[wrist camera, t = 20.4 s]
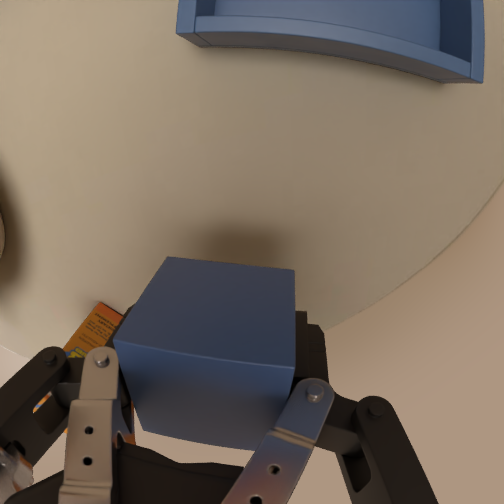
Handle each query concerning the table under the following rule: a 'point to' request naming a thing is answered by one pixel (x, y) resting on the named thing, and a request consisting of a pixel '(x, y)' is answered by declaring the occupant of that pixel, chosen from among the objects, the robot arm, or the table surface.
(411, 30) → the blue bin
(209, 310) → the blue block
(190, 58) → the table surface
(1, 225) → the sugar bowl
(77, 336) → the supplement box
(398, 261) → the table surface
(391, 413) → the robot arm
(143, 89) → the table surface
